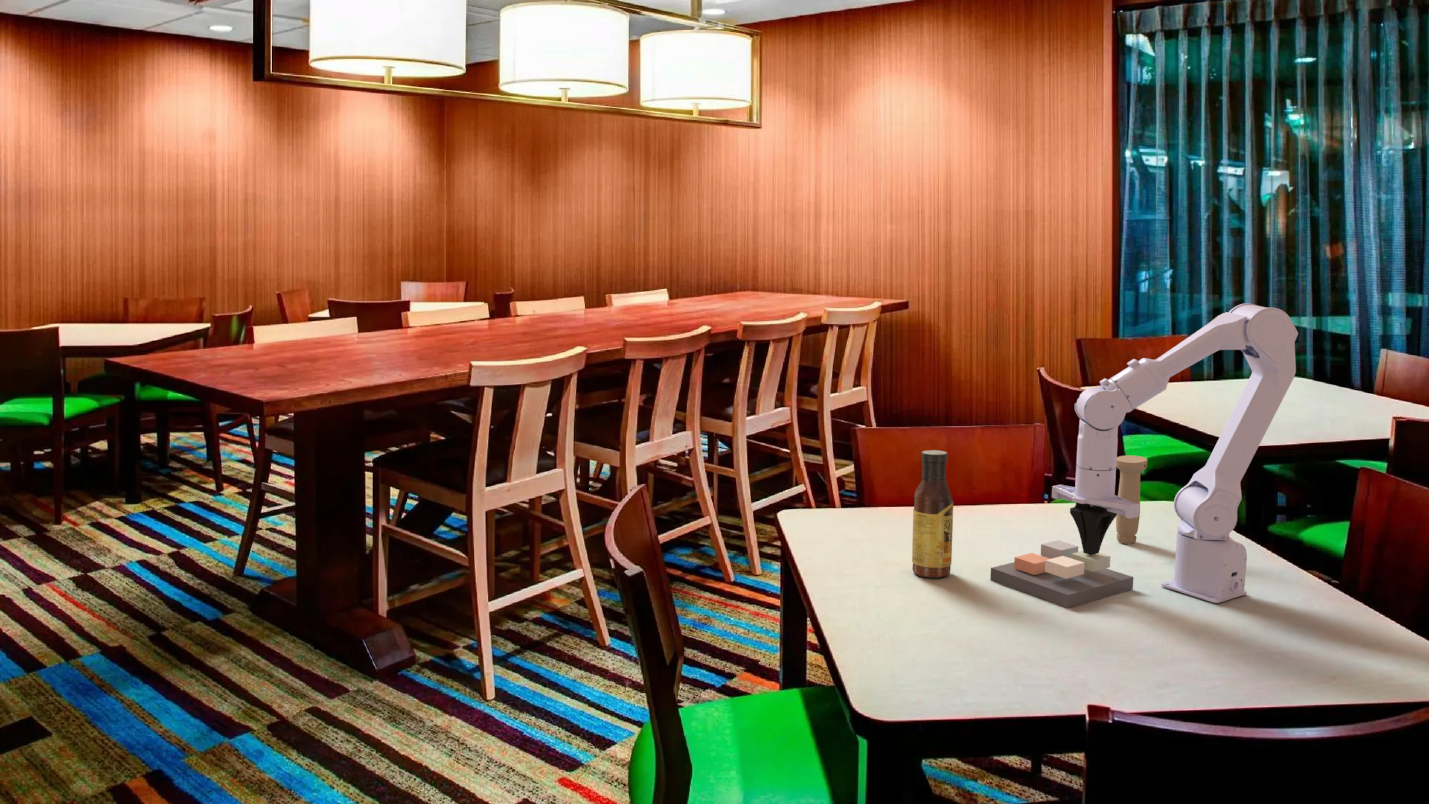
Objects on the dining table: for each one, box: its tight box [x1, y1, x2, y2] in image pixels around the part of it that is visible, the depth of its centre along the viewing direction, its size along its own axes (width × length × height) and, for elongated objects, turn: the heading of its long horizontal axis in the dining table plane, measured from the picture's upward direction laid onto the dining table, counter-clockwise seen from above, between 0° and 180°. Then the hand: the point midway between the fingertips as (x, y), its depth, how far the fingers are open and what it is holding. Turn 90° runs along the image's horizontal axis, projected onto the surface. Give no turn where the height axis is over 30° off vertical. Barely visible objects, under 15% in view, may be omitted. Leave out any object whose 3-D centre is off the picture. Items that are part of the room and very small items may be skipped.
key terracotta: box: [1013, 552, 1049, 575], centre depth 167 cm, size 4×4×2 cm
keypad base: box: [989, 556, 1134, 609], centre depth 167 cm, size 15×15×2 cm
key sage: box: [1072, 550, 1111, 572], centre depth 165 cm, size 4×4×2 cm
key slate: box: [1040, 539, 1079, 559], centre depth 170 cm, size 4×4×2 cm
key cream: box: [1045, 556, 1085, 579], centre depth 162 cm, size 4×4×2 cm
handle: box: [1115, 454, 1148, 545], centre depth 188 cm, size 5×6×15 cm
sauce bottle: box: [911, 449, 954, 579], centre depth 171 cm, size 7×6×20 cm
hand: (1091, 552), depth 165 cm, fingers closed
